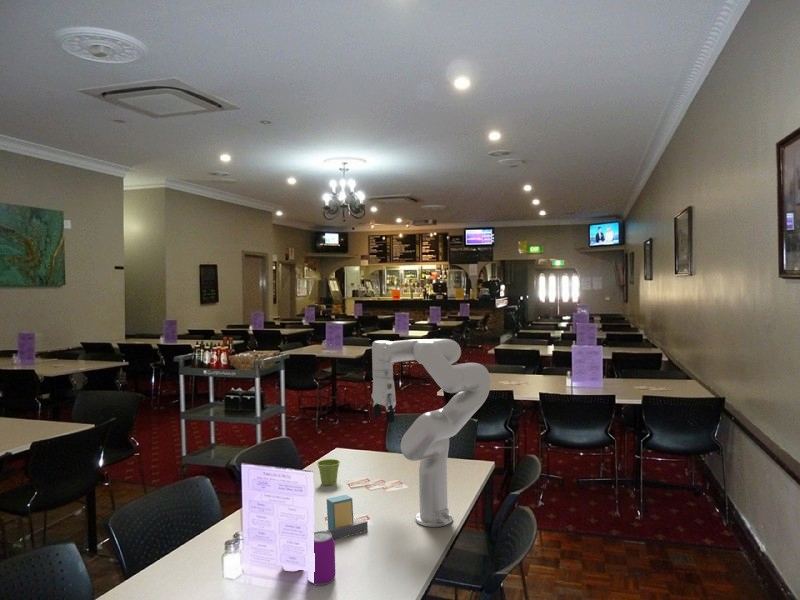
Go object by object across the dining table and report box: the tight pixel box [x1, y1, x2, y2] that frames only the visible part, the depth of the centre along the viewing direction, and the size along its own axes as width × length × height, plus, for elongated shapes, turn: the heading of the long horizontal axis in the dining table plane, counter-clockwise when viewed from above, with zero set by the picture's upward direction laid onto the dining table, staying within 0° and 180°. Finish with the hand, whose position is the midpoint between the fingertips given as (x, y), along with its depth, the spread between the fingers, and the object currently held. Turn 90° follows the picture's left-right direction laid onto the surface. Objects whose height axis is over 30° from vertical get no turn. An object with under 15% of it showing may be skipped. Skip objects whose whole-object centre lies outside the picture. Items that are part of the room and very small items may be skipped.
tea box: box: [326, 494, 354, 530], centre depth 189 cm, size 5×7×10 cm
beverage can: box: [313, 530, 336, 586], centre depth 156 cm, size 8×8×12 cm
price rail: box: [325, 520, 369, 541], centre depth 186 cm, size 4×14×3 cm, turn 120°
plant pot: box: [316, 458, 341, 486], centre depth 235 cm, size 9×9×9 cm
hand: (383, 419), depth 214 cm, fingers open, 9 cm apart
